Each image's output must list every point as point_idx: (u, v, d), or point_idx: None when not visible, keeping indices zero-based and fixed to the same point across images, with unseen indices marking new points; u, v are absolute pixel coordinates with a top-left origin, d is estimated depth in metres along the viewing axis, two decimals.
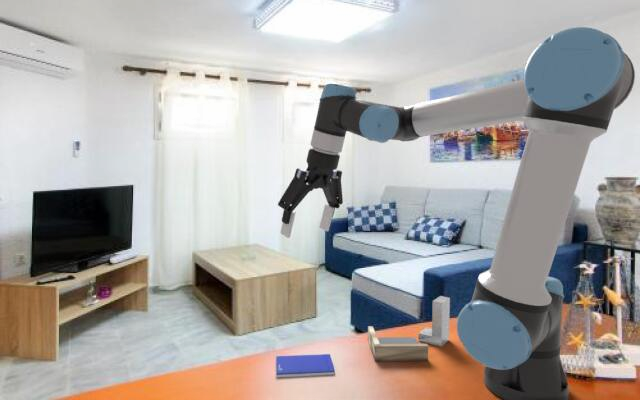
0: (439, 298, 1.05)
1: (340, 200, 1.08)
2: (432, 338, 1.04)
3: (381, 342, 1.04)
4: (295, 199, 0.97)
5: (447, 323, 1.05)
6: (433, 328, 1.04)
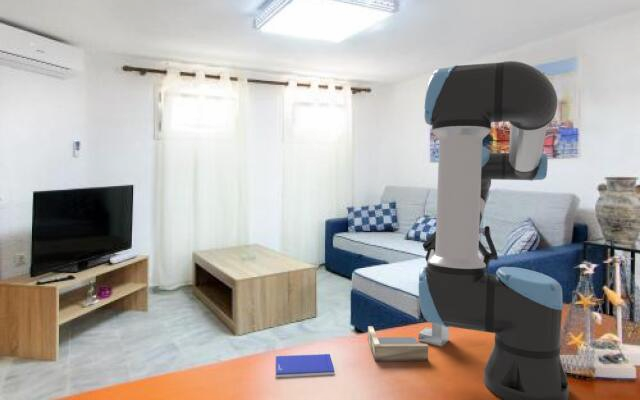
0: None
1: (492, 251, 1.11)
2: (432, 338, 1.04)
3: (381, 342, 1.04)
4: None
5: None
6: (433, 328, 1.04)
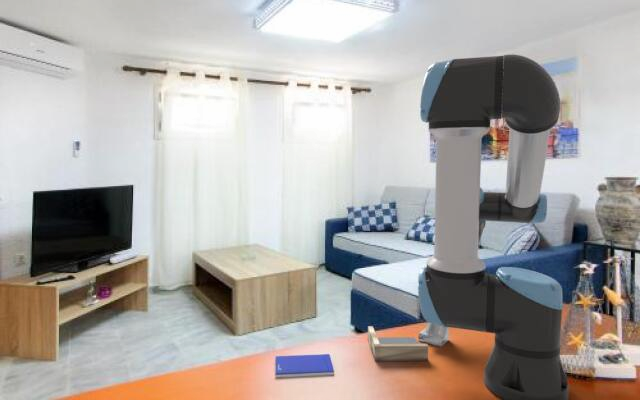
0: None
1: None
2: (432, 338, 1.04)
3: (381, 342, 1.04)
4: None
5: None
6: (433, 328, 1.04)
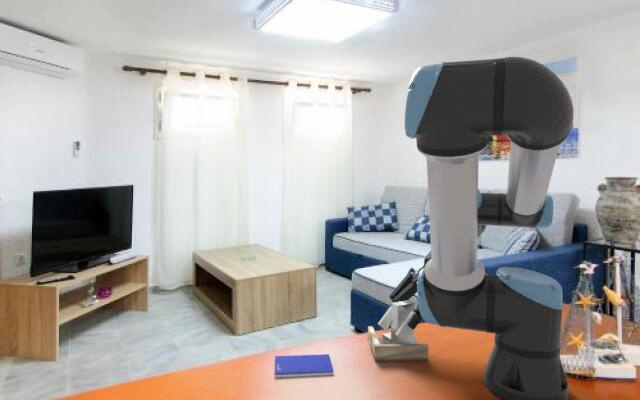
0: (402, 301, 1.01)
1: None
2: (391, 341, 1.01)
3: (381, 342, 1.04)
4: None
5: None
6: (392, 331, 1.01)
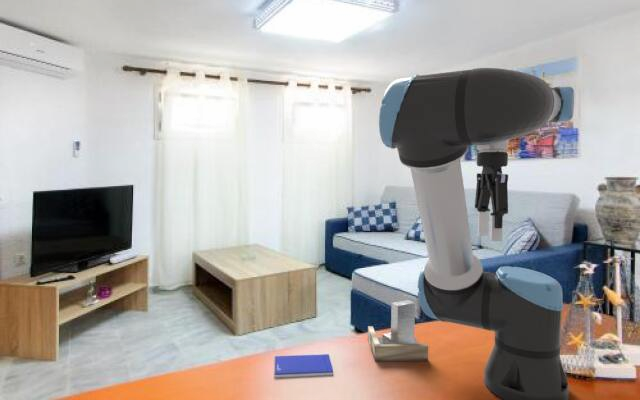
0: (402, 301, 1.01)
1: (496, 208, 1.05)
2: (391, 341, 1.01)
3: (381, 342, 1.04)
4: None
5: (410, 329, 1.00)
6: (392, 331, 1.01)
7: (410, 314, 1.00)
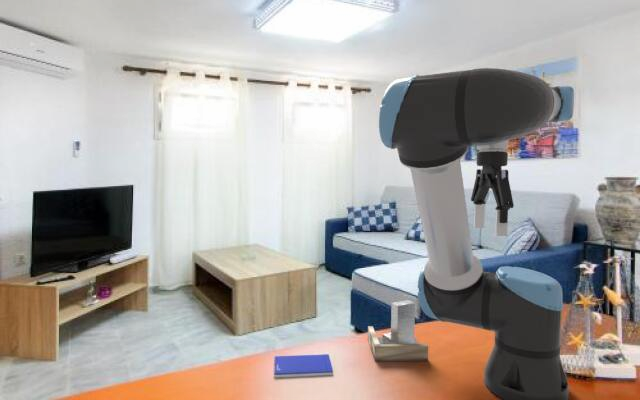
0: (402, 301, 1.01)
1: (501, 202, 1.02)
2: (391, 341, 1.01)
3: (381, 342, 1.04)
4: None
5: (410, 329, 1.00)
6: (392, 331, 1.01)
7: (410, 314, 1.00)
